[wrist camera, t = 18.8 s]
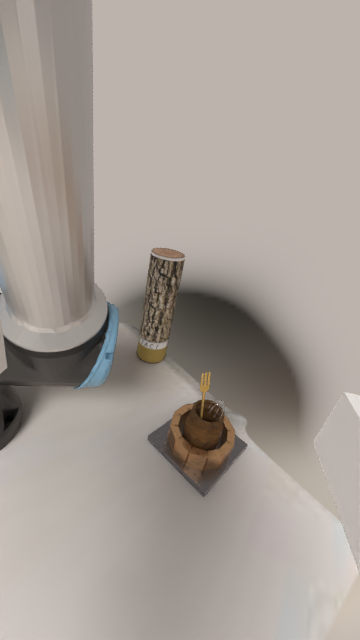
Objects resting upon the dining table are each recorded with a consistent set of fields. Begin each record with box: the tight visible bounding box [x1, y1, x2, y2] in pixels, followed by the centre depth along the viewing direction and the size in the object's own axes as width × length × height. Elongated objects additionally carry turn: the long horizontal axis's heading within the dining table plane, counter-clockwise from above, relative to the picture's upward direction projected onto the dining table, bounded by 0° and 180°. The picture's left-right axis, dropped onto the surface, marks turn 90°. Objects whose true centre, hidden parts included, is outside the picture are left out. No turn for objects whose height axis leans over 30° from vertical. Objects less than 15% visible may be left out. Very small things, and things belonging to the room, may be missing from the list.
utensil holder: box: [182, 372, 226, 451], centre depth 43 cm, size 6×6×12 cm
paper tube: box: [137, 248, 185, 363], centre depth 60 cm, size 7×7×25 cm
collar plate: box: [148, 403, 247, 497], centre depth 45 cm, size 12×12×4 cm
